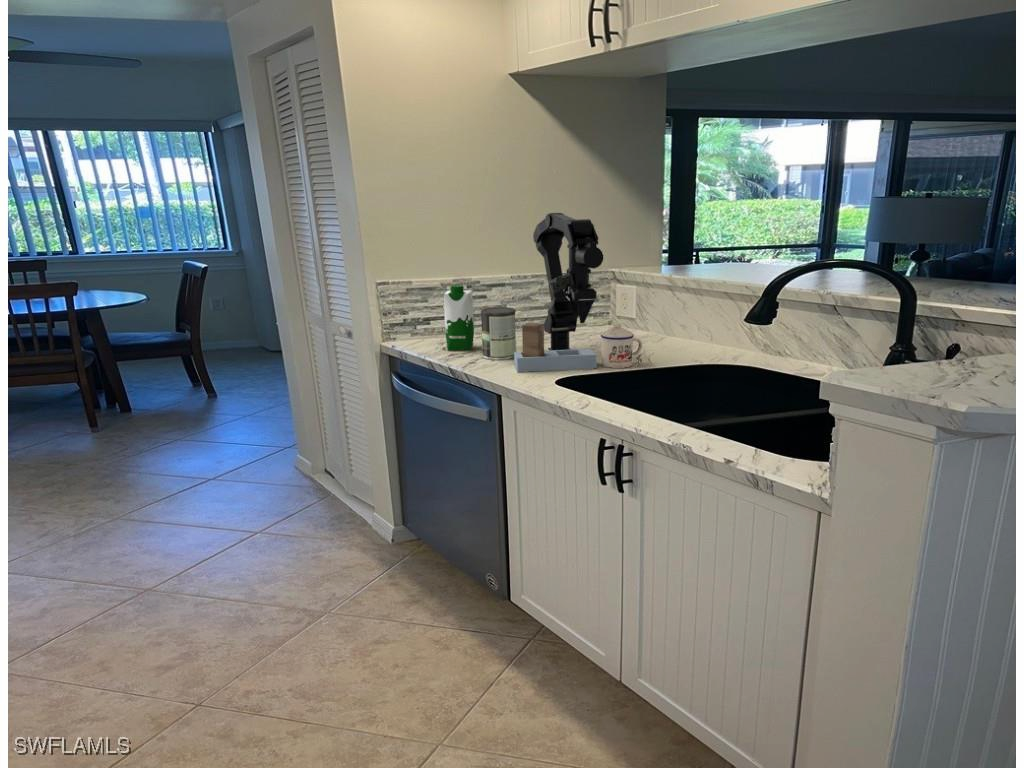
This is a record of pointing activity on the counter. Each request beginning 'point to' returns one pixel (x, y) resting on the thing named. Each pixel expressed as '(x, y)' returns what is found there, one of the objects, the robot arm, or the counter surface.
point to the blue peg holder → (557, 360)
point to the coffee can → (498, 333)
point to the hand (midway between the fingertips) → (579, 320)
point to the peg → (533, 339)
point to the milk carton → (459, 318)
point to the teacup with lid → (618, 347)
